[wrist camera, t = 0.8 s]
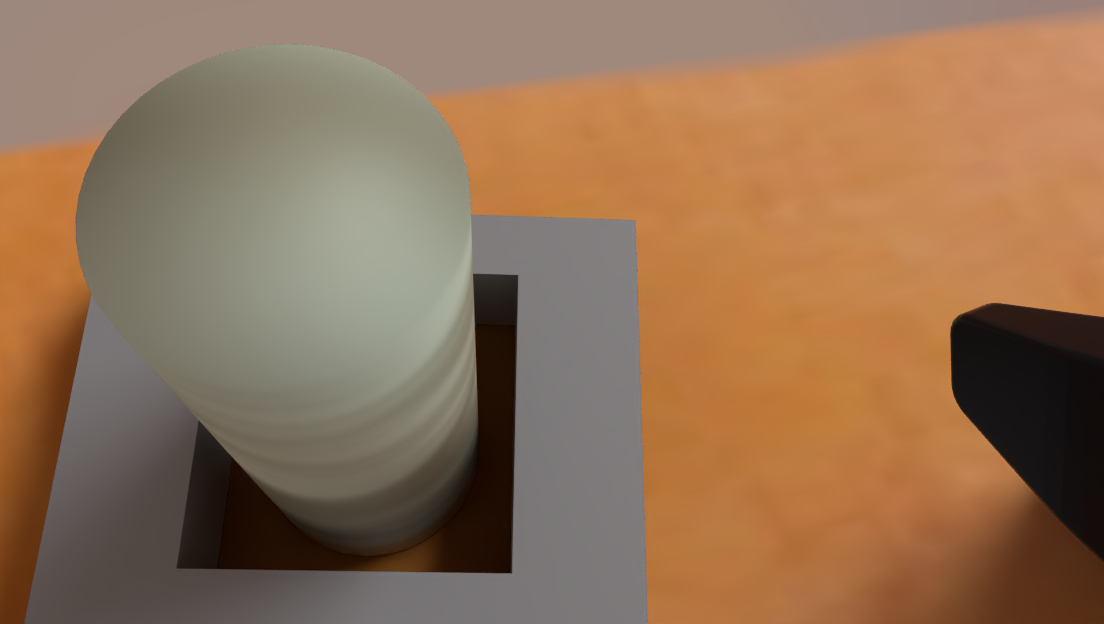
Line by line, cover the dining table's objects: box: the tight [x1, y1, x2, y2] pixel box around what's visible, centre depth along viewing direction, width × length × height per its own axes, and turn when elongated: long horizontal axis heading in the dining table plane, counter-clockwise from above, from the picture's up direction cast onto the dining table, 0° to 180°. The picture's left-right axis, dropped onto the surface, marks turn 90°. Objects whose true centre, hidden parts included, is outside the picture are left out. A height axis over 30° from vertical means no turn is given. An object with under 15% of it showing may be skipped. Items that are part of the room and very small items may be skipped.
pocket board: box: [24, 215, 648, 624], centre depth 21 cm, size 16×12×3 cm
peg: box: [76, 44, 479, 556], centre depth 18 cm, size 5×5×12 cm
